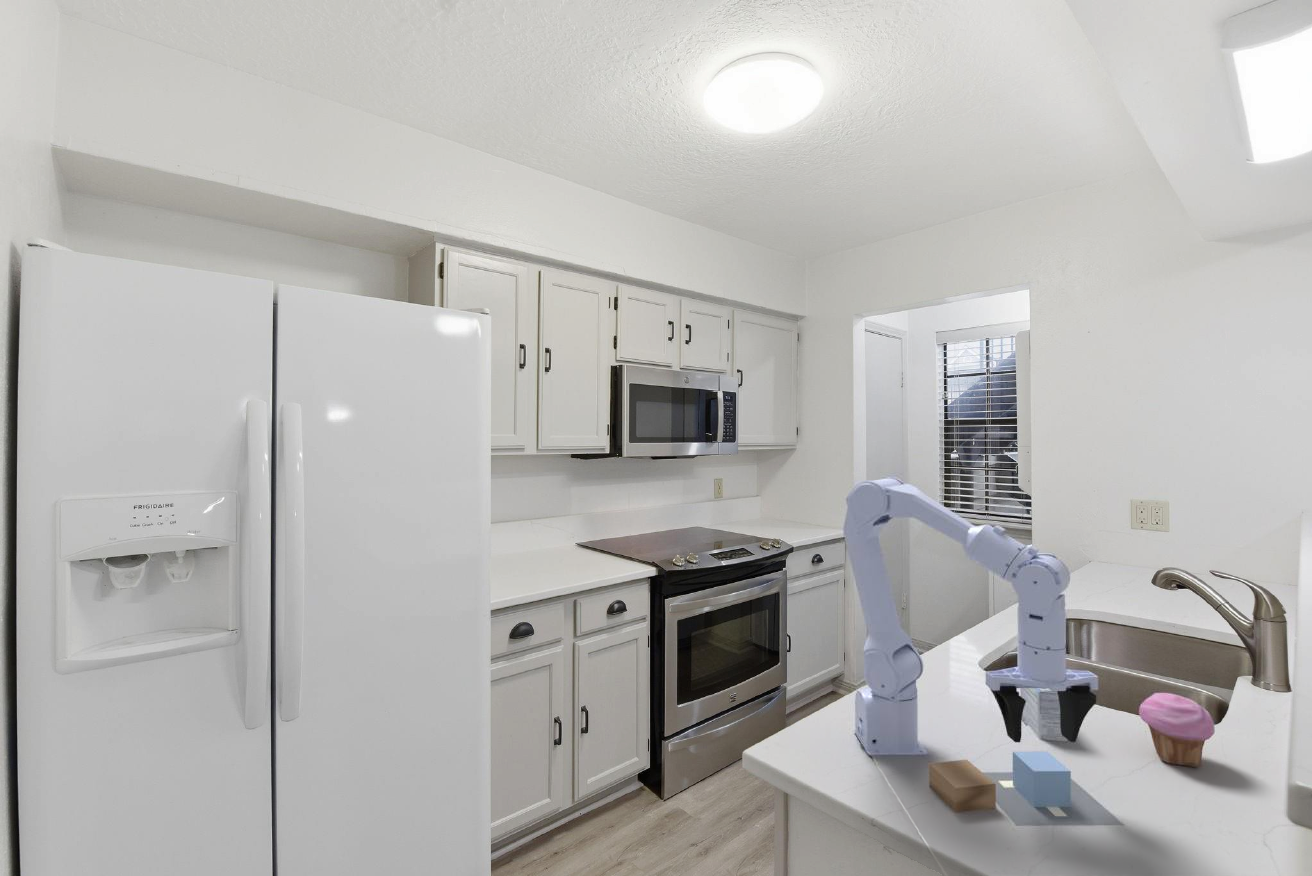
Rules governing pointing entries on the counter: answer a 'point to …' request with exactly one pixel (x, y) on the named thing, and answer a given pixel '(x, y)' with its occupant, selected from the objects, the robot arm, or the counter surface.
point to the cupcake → (1177, 727)
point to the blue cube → (1041, 779)
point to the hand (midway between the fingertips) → (1041, 738)
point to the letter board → (1025, 814)
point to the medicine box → (1042, 713)
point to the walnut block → (962, 786)
